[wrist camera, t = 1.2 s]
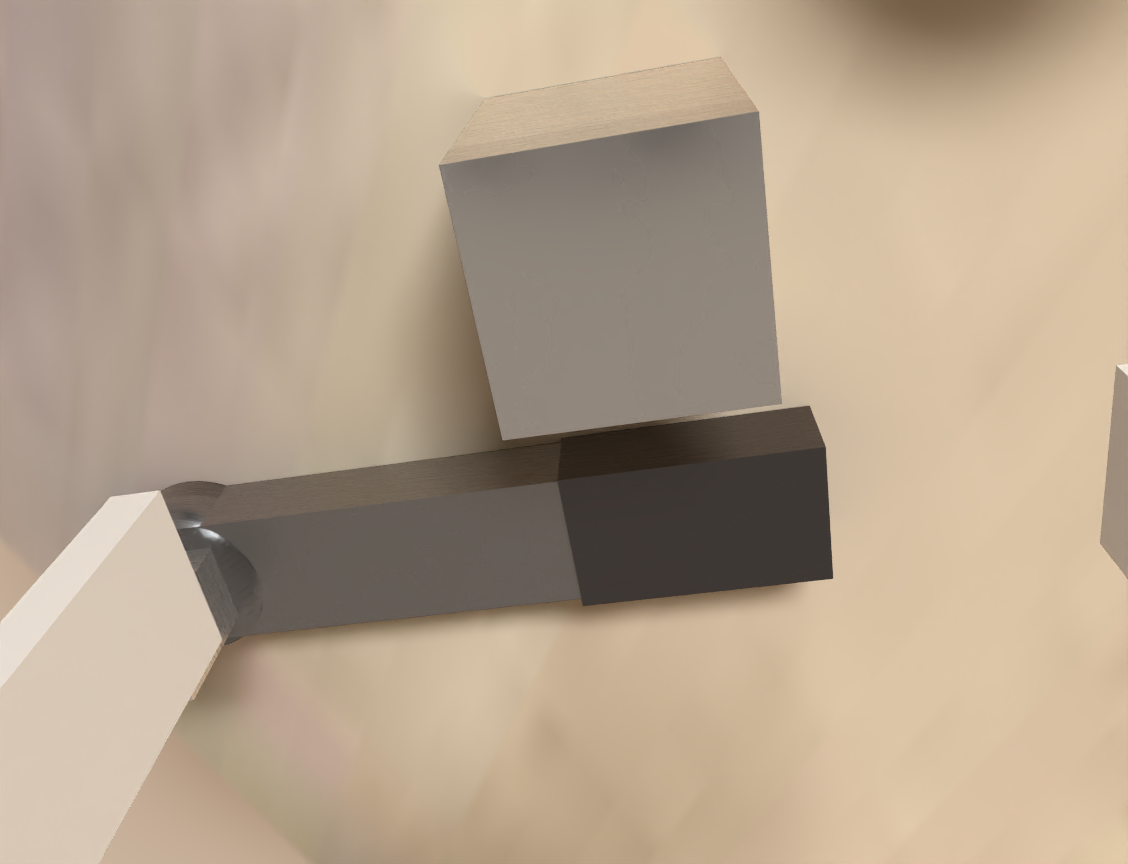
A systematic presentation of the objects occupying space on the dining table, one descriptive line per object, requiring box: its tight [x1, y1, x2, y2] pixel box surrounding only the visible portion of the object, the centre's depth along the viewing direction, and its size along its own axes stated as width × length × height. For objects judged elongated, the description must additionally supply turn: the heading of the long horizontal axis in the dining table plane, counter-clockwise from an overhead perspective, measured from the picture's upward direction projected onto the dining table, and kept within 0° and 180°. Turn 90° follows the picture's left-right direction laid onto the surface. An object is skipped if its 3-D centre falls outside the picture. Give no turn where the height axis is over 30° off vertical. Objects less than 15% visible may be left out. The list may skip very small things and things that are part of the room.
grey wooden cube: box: [439, 57, 782, 440], centre depth 25 cm, size 6×6×8 cm
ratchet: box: [161, 406, 833, 701], centre depth 31 cm, size 24×5×6 cm, turn 100°
